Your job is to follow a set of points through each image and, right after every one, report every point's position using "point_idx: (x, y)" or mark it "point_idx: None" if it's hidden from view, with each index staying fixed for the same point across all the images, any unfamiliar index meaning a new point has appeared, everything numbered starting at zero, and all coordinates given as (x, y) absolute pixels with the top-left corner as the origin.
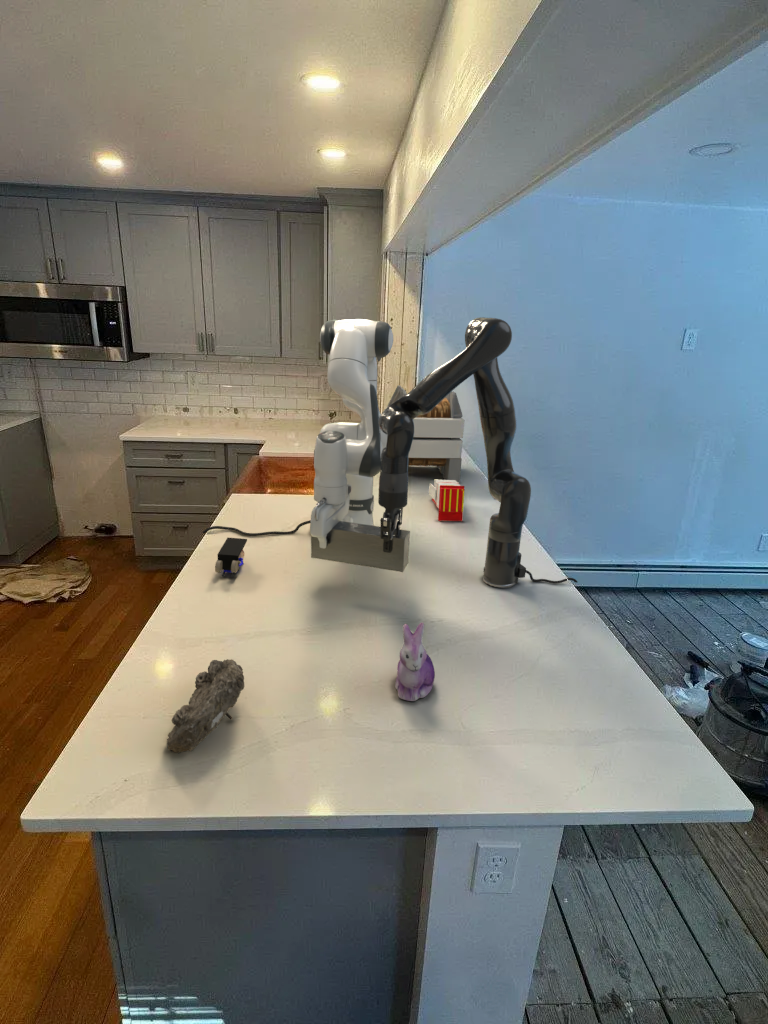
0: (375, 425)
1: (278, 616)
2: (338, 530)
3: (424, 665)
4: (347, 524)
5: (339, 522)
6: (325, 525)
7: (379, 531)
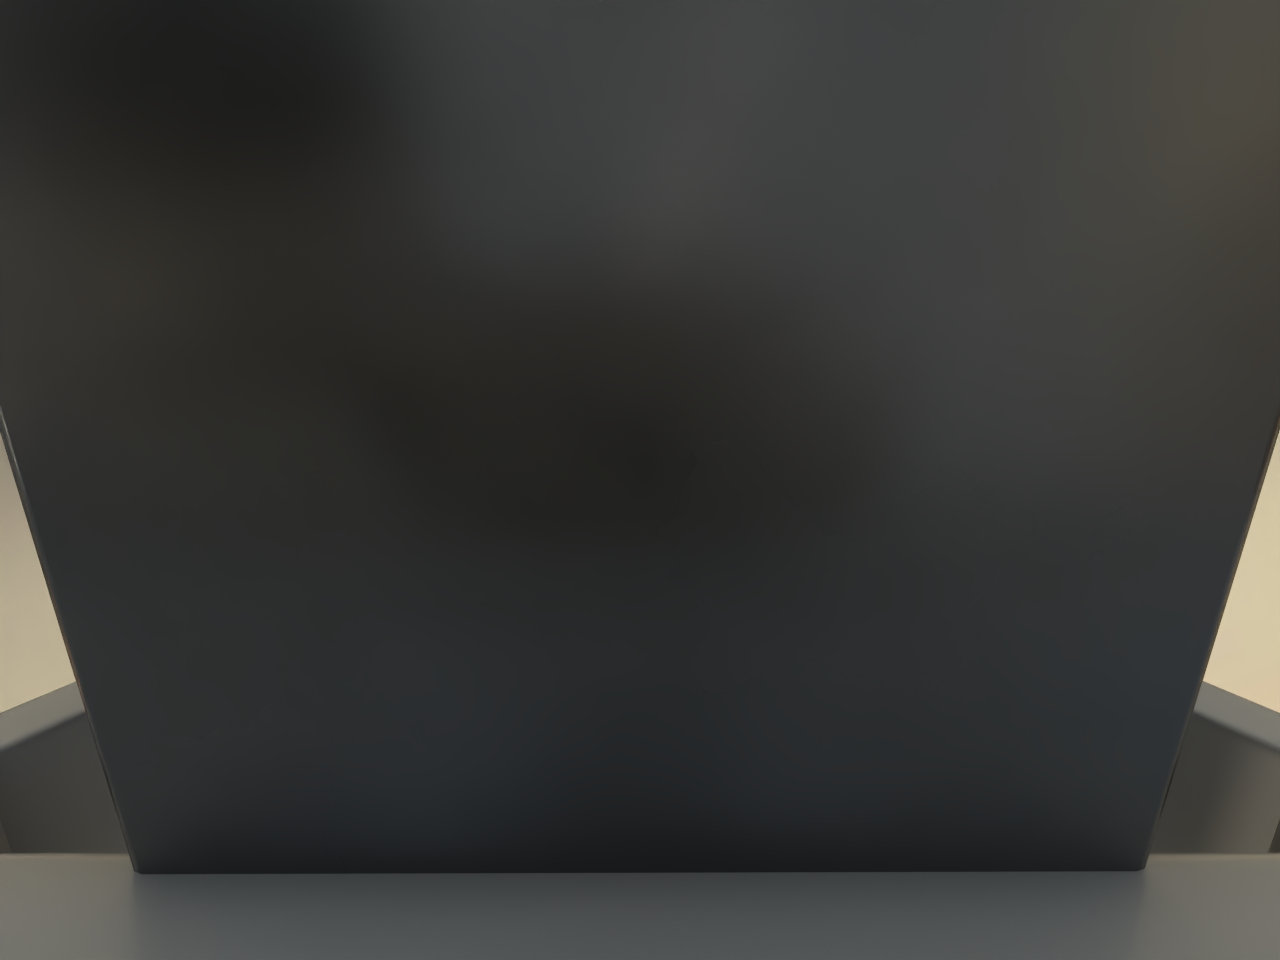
0: None
1: (1272, 569)
2: (1197, 583)
3: None
4: (367, 426)
5: (326, 840)
6: None
7: None
